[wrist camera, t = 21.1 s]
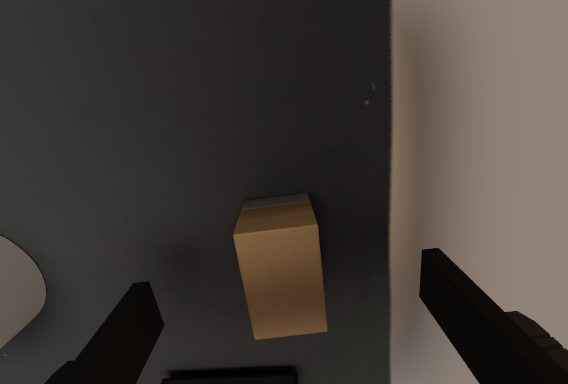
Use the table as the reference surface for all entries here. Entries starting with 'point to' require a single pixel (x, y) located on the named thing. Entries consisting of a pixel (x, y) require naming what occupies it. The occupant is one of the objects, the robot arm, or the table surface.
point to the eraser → (281, 266)
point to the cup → (18, 290)
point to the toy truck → (237, 379)
